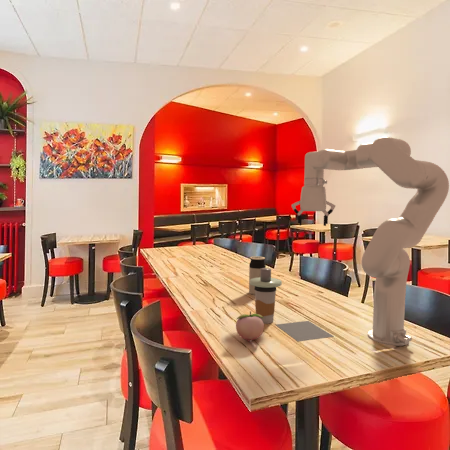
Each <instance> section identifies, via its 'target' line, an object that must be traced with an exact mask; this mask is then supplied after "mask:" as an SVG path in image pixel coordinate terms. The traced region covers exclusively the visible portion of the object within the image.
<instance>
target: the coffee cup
mask: <svg viewBox="0 0 450 450" xmlns="http://www.w3.org/2000/svg"><path fill="white" fill-rule="evenodd" d="M254 290H255V295H254V297H255V298H254V299H255V301H254V303H255V314H259V315H261V316H262V317H263V318H262V317H260V318H261V319H262V321H263V324H264V325H265V324H267V325H268V324H271V323H273V322H274V316H275V308H276V307H275V306H276V293H277V287H271V288H265V287H256V286H255V288H254Z"/></svg>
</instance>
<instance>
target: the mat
mask: <svg viewBox="0 0 450 450" xmlns="http://www.w3.org/2000/svg"><path fill="white" fill-rule="evenodd" d="M275 326H277V328H279V329H280V330H282V331H283V332H284V333H286V335H288V336H290V337H291V338H292V339H294V340H295V341H296V342H303V341H304V342H305V341H311V340H319V339H325V338H334V337H335V336H334V335H333V334H331V333H329V332H328V331H327V330H324V329H323V328H322V327H319V326H318V325H316V324H314V323H313V322H311V321H310V320H303V321H294V322H287V323H286V322H285V323H277V324H275Z"/></svg>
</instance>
